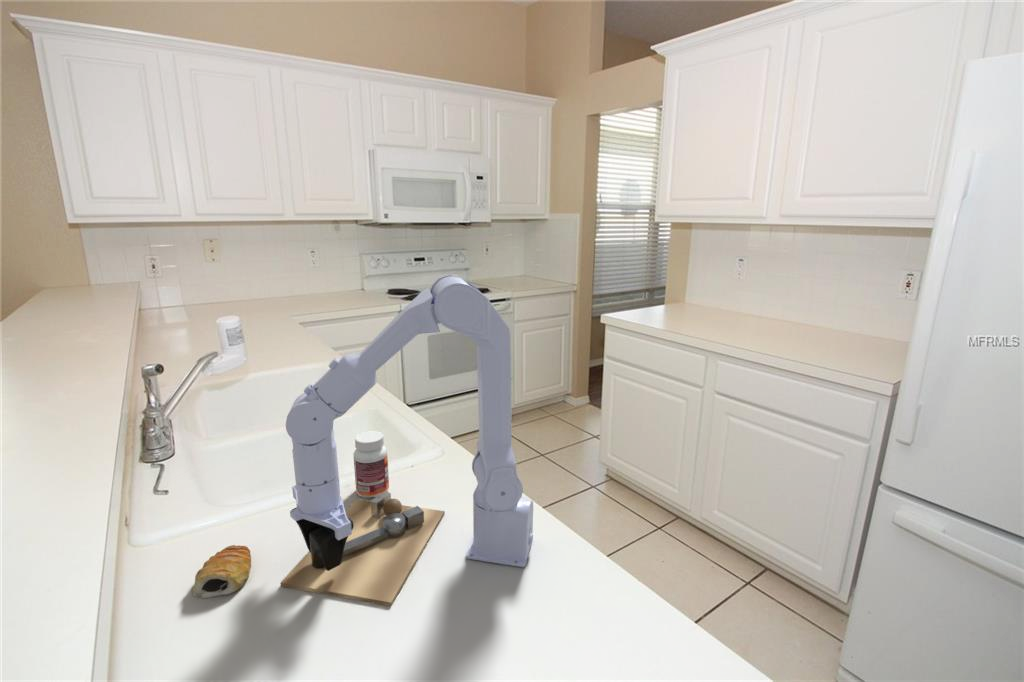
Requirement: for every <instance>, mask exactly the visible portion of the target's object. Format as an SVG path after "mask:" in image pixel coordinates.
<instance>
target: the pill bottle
mask: <svg viewBox="0 0 1024 682" xmlns="http://www.w3.org/2000/svg"><path fill="white" fill-rule="evenodd" d="M354 446H355V450H354V452H353V465H354V466H353V468H354V478H355V481H354V482H355V492H356V494H357V495H358V496H359V497H362V498H365V499H374V498H376V497H377V496H378V495H380V494H381V493H383V492H384V491H386V492H389V489H390V478H389V463H388V461H389V460H388V450H387V447H386V446H385V441H384V434H383V433H382V432H380V431H377V430H367V431H363V432H360V433H358V434H357V435H355V437H354Z"/></svg>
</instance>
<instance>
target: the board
mask: <svg viewBox="0 0 1024 682" xmlns="http://www.w3.org/2000/svg"><path fill="white" fill-rule="evenodd" d="M414 507H415V506H410V505H403V504H402V511H401V513H400V514H402V512H404V511H406V510H409V509H411V508H414ZM420 508H421V509H422V510H423V511H424V523H422V524H419V525H417V526H415V527H413V528H410V529H408V528H406V531H405V533H404V534H403V535H402V536H400V537H397V538H386V539H384V540H382V541H379V542H377V543H375V544H372V545H370V546H368V547H365V548H363V549H361V550H358V551H356V552H354V553H352V554H349V555H347V556H345V557H342V560H341V564H340V565H339V566H337V567H335V568H333V569H331V570H329V571H327V570H326V569H325V568H320V569H317V568H314V567H313V566H312V559H311V553H310V551H309V550H308V552H307V553H306V554H305V555H304V556H303V558H301V560H299V562H297V564H296V565H295V566H294V567H293V568H292V569H291V570H290V572H289V573H288V574H287V575H286V576H285V577H283V579H282V581H280V587H282V588H289V589H295V590H299V591H303V592H304V591H306V592H311V593H316V594H322V595H327V596H334V597H338V598H344V599H350V600H355V601H361V602H367V603H370V604H371V603H372V604H378V605H383V606H387V607H388V606H389V607H392V606H393V605H394V603H395V600H396V599H397V597H398V596H399V594H400V593H401V590H402V588H403V587H404V585H405V584H406V581H407V580H408V579H409V577H410V575H411V573H412V571H413V570H414V568H415V567H416V564H417V563H416V562H418V561H419V560H420V558H421V556H422V554H423V552H424V551H425V549H426V547H427V545H428V544H429V541H430V540H431V538H432V537H433V535H434V533H435V531H436V530H437V528H438V526H439V525H440V523H441V521H442V519H443V517H444V516H445V510H441V509H440V510H438V509H432V508H425V507H420ZM345 512H346V516H347V518H349V519H350V520H352V521H353V525H354V527H353V529H352V534H351V535H349V536H348V538H347V540H346V542H348V541H350V540H353V539H355V538H358V537H360V536H362V535H365V534H367V533H370V532H372V531H374V530H377V529H379V528H382V527H383V519H384V517H385V516H386V515H385V514H383V515H382V516H380V517H379V518H375V517H372V516H371V500H366V499H359V498H356V499H355V500H354V501H353V502H352V504H351V505H350V506H349V507H348V508H347V509H346V510H345ZM427 543H428V544H427ZM423 550H424V551H423ZM419 557H420V558H419Z"/></svg>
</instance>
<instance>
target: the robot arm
mask: <svg viewBox="0 0 1024 682" xmlns="http://www.w3.org/2000/svg"><path fill="white" fill-rule="evenodd" d="M438 324H441V325H442V326H443V327H445V328H446V329H449V330H451V331H455V332H457V333H459V334H463V335H466V336H467V338H469V339H471V341H473V342H474V343H475V344H476V367H477V369H476V370H477V372H476V373H477V400H478V401H477V404H478V433H479V434H478V435H479V436H478V440H477V442H476V445H477V448H476V454H475V455H474V457H473V460H472V462H471V468H472V472H473V473H472V474H473V476H474V477H475V478H476V481H477V485H476V488H475V490H474V492H473V494H472V497H473V501H472V502H473V505H472V507H473V509H472V510H473V511H472V512H473V514H472V515H473V516H472V517H473V519H472V520H473V521H472V523H473V524H472V525H473V537H472V539H471V541H470V544H469V546H468V547H467V551H466V552H465V558H466V559H469V560H474V561H475V560H476V561H480V562H486V563H487V562H488V563H492V564H500V565H507V566H513V567H518V568H519V567H520V568H524V567H525V566H526V565H527V560H528V557H529V554H530V553H529V552H530V550H531V546H532V545H533V538H534V535H533V532H534V525H533V524H534V502H533V500H532V499H528V498H527V497H526V498H525V497H523V492H524V490H523V489H524V488H523V483H522V481H521V479H520V477H519V476H518V473H517V461H516V457H515V453H514V450H513V449H514V448H513V444H512V439H513V437H512V376H511V375H512V371H511V369H512V368H511V367H512V365H511V363H512V361H511V331H510V328H509V325H507V323H506V322H505V320H504V319H503V318H502V316H501V315H500V314H499V312H498V311H497V309H496V308H495V307H494V306H493V304H492V303H491V300H490V299H489V298H488V297H487V295H485V294H483V293H482V292H481V290H480V289H478V288H477V286H475V285H474V284H473V283H471V282H469V281H468V280H466V279H465V278H463V277H462V276H459V275H456V274H447V275H443V276H441V277H439V278H437V279H436V280H435V281H434V282H433V283H432V285H431V287H430V288H429V287H427V288H425V289H424V290H422V291H421V292H420V293H418V294H417V296H415V297H414V298H413V299H412V300H411V301H410V302H409V303H408V304H406V306H404V308H403V309H402V310H401V311H400V312H399V313H398V314H397V315H396V316H395V317H394V318H393V319H392V320H391V321H390V322H389V323H388V324H387V325H386V326H385V328H383V329H382V331H380V332H379V333H378V334H377V336H376V337H375V338H374V339H373V340H372V341H371V342H369V344H367V346H366V347H365V348H364V349H363V350H362V351H361V352H359V353H350V354H344V355H343V356H342V357H341V358H340V359H339V358H338V357H334V358H333V360H332V361H330V363H329V364H328V367H329V370H328V371H326V373H325V374H323V375H322V376H321V377H320V378H319V379H318V380H317V381H316V382H315V383H314V384H313V385H312V384H310V383H309V384H308V385H307V386H306V387H305V388H304V390H303V393H301V394H300V395H299V396H297V397H296V398H295V400H294V402H293V403H292V405H291V408H290V410H289V412H288V414H287V416H286V421H285V430H286V433H287V435H288V436H289V438H290V439H291V443H292V459H293V470H294V478H295V479H294V480H295V485H292V487H291V489H292V497H293V498H294V499H295V502H296V507H294V508H292V509H291V510H290V511H289V516H290V518H291V519H292V520H293V521H295V522H296V524H297V526H298V528H299V530H300V531H301V534H302V536H303V539H304V541H305V544H306V548H307V549H308V552H309V551H310V553H311V549H310V539H309V532H310V530H311V529H313V528H315V527H317V526H322V527H320V528H318V529H315V530H313V531H311V532H310V535H311V536H312V537H313V538H314V540H315V541H316V543H317V545H318V547H319V550H320V553H321V557H322V561H323V564H324V567H325V569H326V570H327V571H329V570H331V569H333V568H335V567H337V566H339V565H340V564H341V560H342V556H343V551H344V547H345V543H346V540H347V538H348V536H349V535H351V534H352V529H353V527H354V525H353V521H352V520H350V519H349V518H347V516H346V512H345V511H346V510H345V505H344V501H343V498H342V496H341V489H340V488H341V487H340V485H341V484H340V476H339V475H340V473H339V466H338V465H339V463H338V451H337V442H336V440H335V429H334V421H335V420H336V419H338V418H340V417H342V416H344V415H345V414H346V413H347V412H349V410H350V409H351V408H352V407H353V406H354V405H355V404H356V403H358V402H359V400H361V399H362V398H363V397H364V396H366V394H368V392H369V391H370V390H371V389H372V388H373V387H375V385H376V384H377V371H378V370H379V369H380V368H381V367H383V366H384V365H385V364H386V363H387V362H388V361H390V359H392V358H393V357H394V356H395V355H396V354H398V352H400V350H402V349H403V348H404V347H405V346H406V345H408V343H410V342H411V341H412V340H414V339H415V337H417V336H418V335H422V334H433V333H434V334H435V333H436V334H437V333H440V332H441V330H440V327H439V325H438Z"/></svg>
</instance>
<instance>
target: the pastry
mask: <svg viewBox="0 0 1024 682" xmlns="http://www.w3.org/2000/svg"><path fill="white" fill-rule="evenodd" d="M251 568H252V555H251V550H250V548H249V547H248V546H246V545H234V544H233V545H232V544H231V545H229V546H227V547H225V548H223V549H222V550H220V551H217V552H216V553H215V554H214V555H212V556H210V557H209V558H208V560H206V561H205V562H204V563H203V565H202V567H201V568H200V569H199V570H198V571H197V572H196V575H195V578H194V585H193V587H192V589H191V593H192V595H194V596H196V597H197V599H198V598H199V599H200V598H201V599H210V598H215V597H218V596H224V595H230V594H232V593H234V592H236V591H238V590H240V589H241V588H242V587H243V586H244V585H245V584H246V583H247V581H248V579H249V577H250V572H251Z"/></svg>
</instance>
